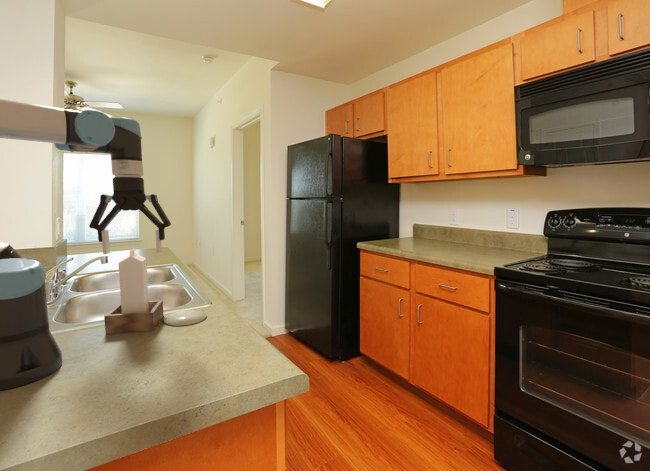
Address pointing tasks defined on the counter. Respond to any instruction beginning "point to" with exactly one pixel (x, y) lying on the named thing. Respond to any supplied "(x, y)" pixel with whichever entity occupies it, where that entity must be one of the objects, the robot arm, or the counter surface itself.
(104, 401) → the counter surface
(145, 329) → the sleeve
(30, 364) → the robot arm
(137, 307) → the milk
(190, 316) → the cream glossy dome
